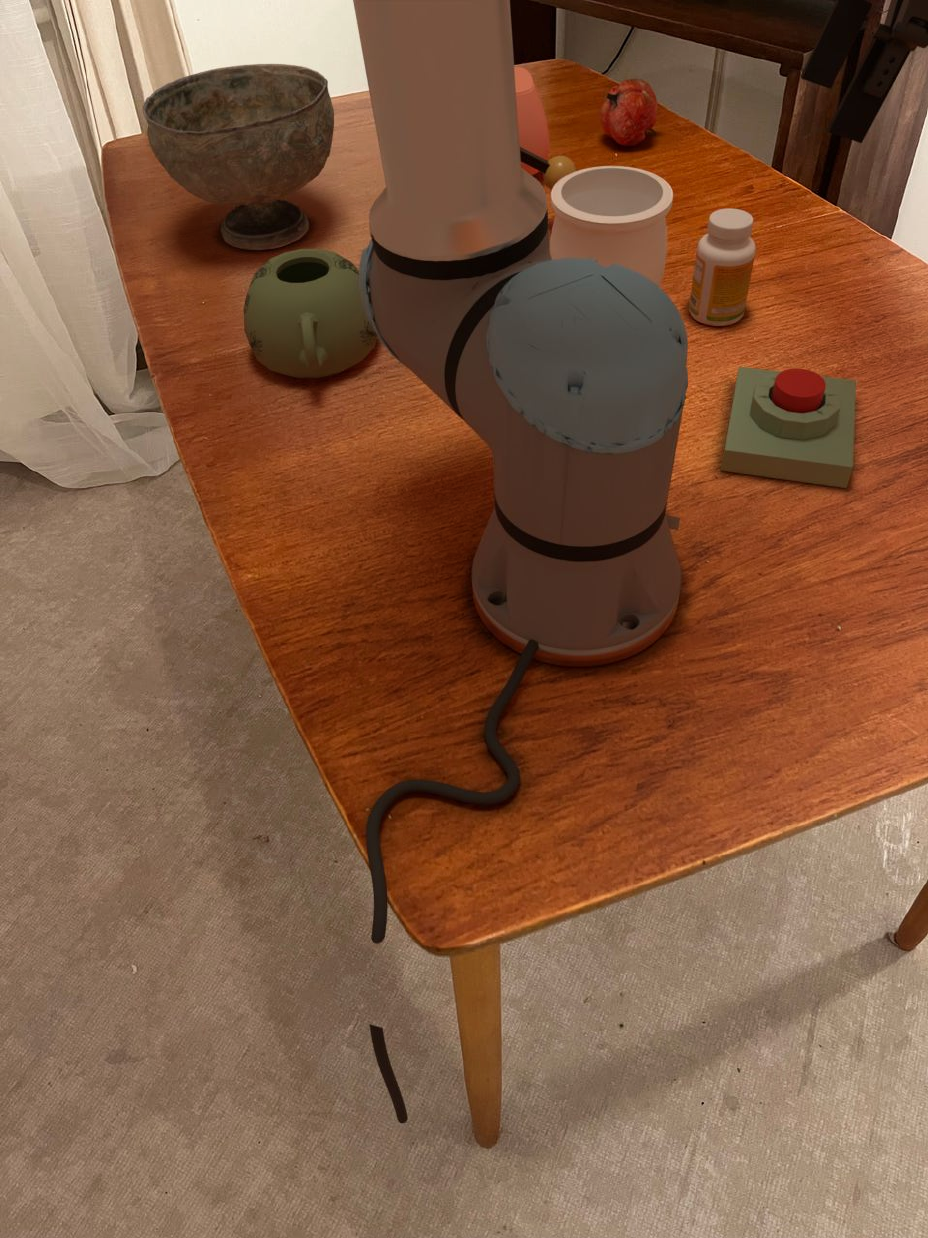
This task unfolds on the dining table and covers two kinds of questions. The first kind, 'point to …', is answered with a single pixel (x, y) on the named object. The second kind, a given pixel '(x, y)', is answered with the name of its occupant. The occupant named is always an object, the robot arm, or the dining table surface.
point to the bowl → (245, 144)
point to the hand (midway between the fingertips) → (828, 108)
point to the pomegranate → (629, 112)
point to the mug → (307, 314)
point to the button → (798, 390)
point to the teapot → (530, 118)
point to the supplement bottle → (723, 268)
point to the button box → (790, 432)
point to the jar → (612, 218)
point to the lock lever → (549, 166)
